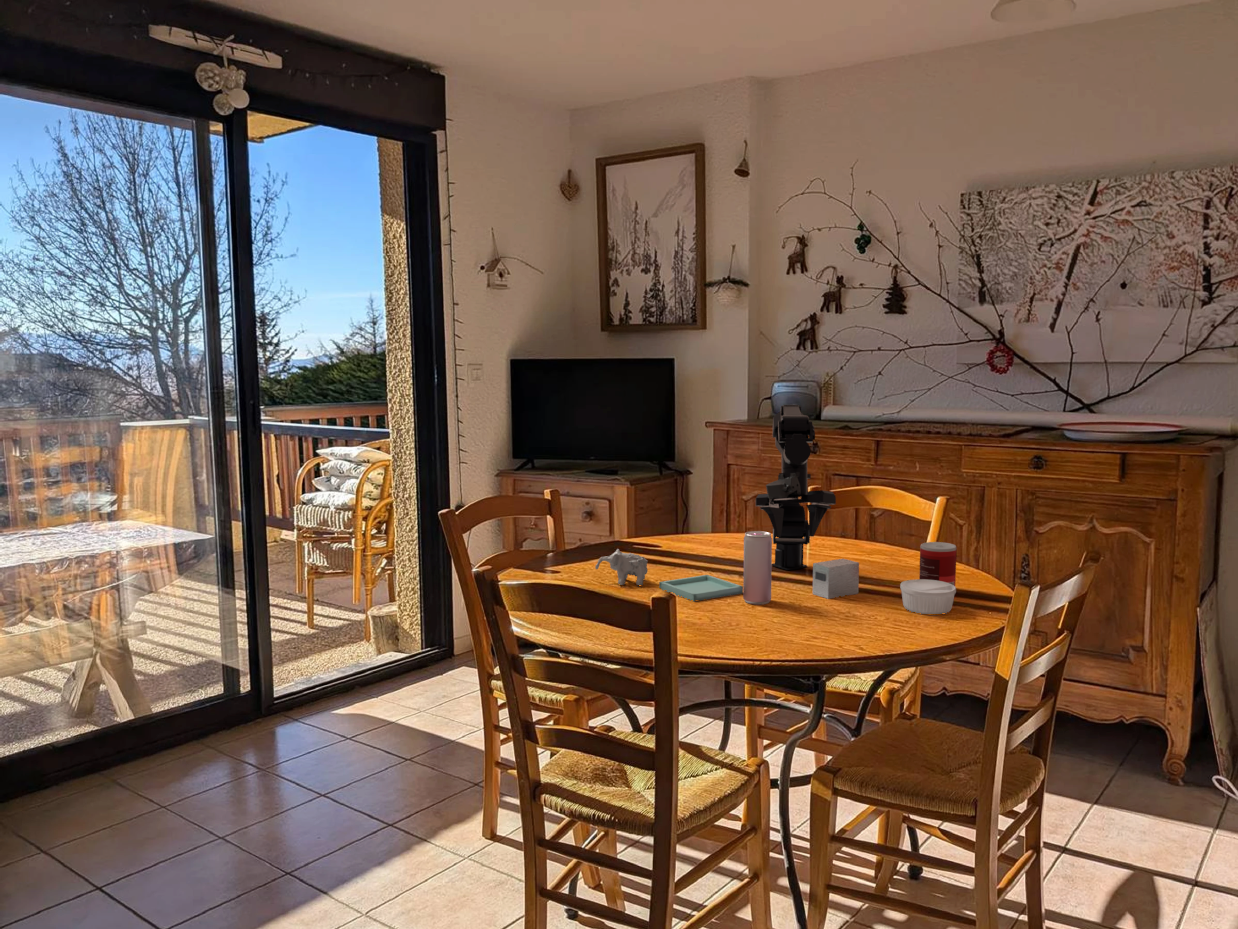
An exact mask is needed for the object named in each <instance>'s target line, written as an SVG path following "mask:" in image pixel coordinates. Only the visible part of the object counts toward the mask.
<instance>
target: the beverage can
mask: <svg viewBox="0 0 1238 929" xmlns="http://www.w3.org/2000/svg"><path fill="white" fill-rule="evenodd" d="M772 550H773V537H772V533H771V532H767V531H762V530H751V531H746V532H745V533H744V537H743V585H742V586H743V593H742V594H743V600H744V602H745V603H746V604H748V605H749V604H750V605H759V606H760V605H766V604H769V603H770V602H771V600H772V569H773V568H772V567H773V566H772V564H773V563H772V562H773V561H772V560H773V559H772V557H773V555H772V553H773V552H772Z"/></svg>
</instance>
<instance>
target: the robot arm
mask: <svg viewBox="0 0 1238 929" xmlns="http://www.w3.org/2000/svg"><path fill="white" fill-rule="evenodd" d="M772 419H773V420H772V438H774V440H775V441H774V443H775V444H774V445H775V447H776V449H777V450H778V452H779V453H780V457H781V458H780V459H781V472H779V473H778V475H777V476H778V477H777V480H774V481H772V482H769V483H767V484H765V488H766V492H767V493H761V494H760V493H759V494H757V496H756V498H755V507H759V509H760V510H762V511H764V512H765V513H766V514H767V517H768V518H769V520H770V523H771V525H772V545H775V546H776V548H775V549H774V563H772V567H776V568H779V569H782V570H786V571H791V570H793V571H794V570H798V569H799V570H800V569H806V568H808V565H807V564H804V546H807V545H808V544H810V541H811V539H810V538H811V537H814V536H815V534H816V532H817V530H818V527H819V526H820V524H821V522H822V519H823V518H824V516H825V514H826V513H827V511H828V509H831V508H832V506H833V505H836V504H837V497H836V495H835V493H834V491H828V490H808V479H812V478H811V473H808V459H809V458H810V456H811V447H810V445H809V443H813V441H815V440H816V431H815V425H814V424H813V420H810V417H809V416H808V415H806V414H804V413H803V412H802V406H801V405H799V404H783V405H780V410H779V411H778V413H776V414H775V415H774V416H773V418H772ZM802 503H803V504H804V503H805V506H806V509H807V511H808V519H806V511H805V508H804V505H801V504H802ZM807 503H810V504H807Z"/></svg>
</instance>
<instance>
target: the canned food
mask: <svg viewBox="0 0 1238 929" xmlns="http://www.w3.org/2000/svg"><path fill="white" fill-rule="evenodd" d="M919 548H920V551H919V579H927V580H937V581H943V582H947V583H950V584H952V585H954V586H955V587H956V577H957V576H956V575H957V546H956V544H953V543H949V542H944V541H943V542H942V541H941V542H940V541H928V542H923V543H921V544H920V547H919Z"/></svg>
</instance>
